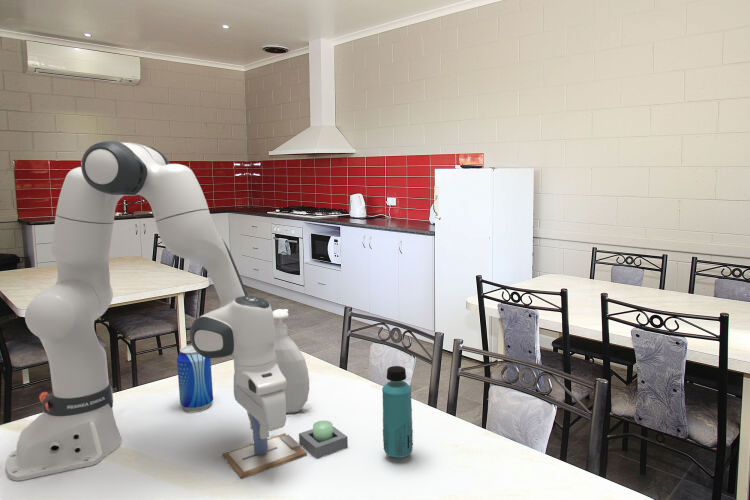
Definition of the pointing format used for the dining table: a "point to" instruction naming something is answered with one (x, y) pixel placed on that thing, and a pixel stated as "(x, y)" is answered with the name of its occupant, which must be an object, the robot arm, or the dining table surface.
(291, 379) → the soap bottle
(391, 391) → the beverage bottle
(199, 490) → the dining table surface
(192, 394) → the beer can
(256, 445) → the marker
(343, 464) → the dining table surface
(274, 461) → the clipboard
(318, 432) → the button
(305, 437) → the button housing
